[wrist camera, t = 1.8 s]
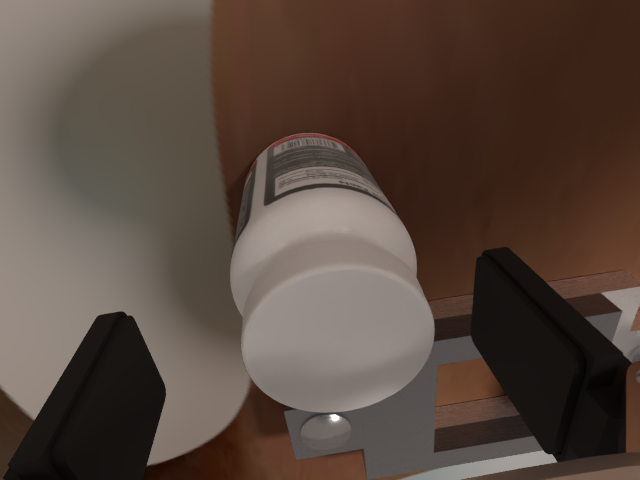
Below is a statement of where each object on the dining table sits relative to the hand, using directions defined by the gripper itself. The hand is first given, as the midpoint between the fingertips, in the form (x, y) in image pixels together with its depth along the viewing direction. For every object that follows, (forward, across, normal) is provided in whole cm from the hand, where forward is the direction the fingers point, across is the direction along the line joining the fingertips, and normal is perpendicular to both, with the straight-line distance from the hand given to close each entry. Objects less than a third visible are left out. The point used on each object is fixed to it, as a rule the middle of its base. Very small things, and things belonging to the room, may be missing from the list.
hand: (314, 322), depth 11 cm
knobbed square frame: (+8, -10, +13) cm, 18 cm away
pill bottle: (+9, -1, 0) cm, 9 cm away
